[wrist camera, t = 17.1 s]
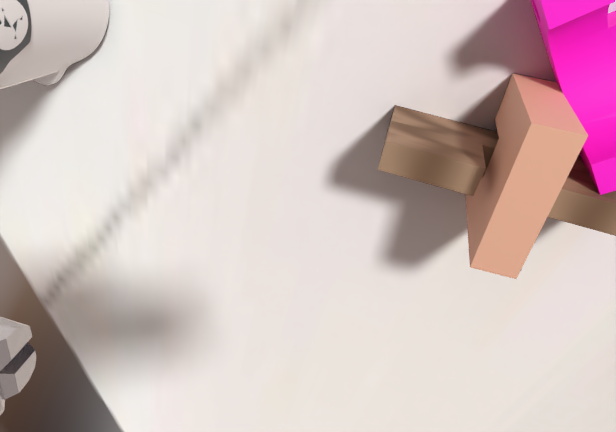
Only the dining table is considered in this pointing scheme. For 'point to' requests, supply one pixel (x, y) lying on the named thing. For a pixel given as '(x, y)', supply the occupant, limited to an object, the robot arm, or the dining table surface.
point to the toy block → (586, 75)
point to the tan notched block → (522, 174)
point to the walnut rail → (480, 165)
